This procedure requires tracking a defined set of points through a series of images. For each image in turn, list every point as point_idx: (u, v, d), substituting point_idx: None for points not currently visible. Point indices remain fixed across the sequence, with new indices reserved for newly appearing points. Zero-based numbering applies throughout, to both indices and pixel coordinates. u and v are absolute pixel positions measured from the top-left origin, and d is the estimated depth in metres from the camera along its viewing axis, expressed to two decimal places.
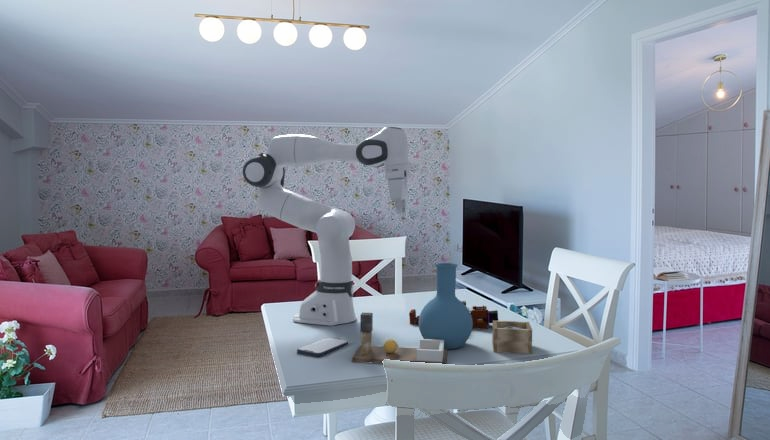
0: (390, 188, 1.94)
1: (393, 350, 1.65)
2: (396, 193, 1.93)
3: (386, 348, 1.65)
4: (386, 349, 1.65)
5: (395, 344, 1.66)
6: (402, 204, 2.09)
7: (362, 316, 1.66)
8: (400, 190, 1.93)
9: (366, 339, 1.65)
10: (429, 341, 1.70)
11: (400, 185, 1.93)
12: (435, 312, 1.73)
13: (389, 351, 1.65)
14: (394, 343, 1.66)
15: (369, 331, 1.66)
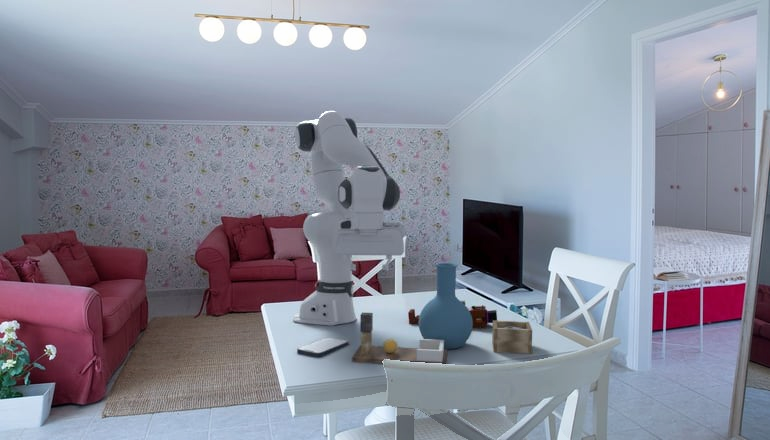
0: None
1: (393, 350, 1.65)
2: None
3: (386, 348, 1.65)
4: (386, 349, 1.65)
5: (395, 344, 1.66)
6: (387, 261, 1.66)
7: (362, 316, 1.66)
8: (333, 243, 1.66)
9: (366, 339, 1.65)
10: (429, 341, 1.70)
11: (334, 237, 1.66)
12: (435, 312, 1.73)
13: (389, 351, 1.65)
14: (394, 343, 1.66)
15: (369, 331, 1.66)
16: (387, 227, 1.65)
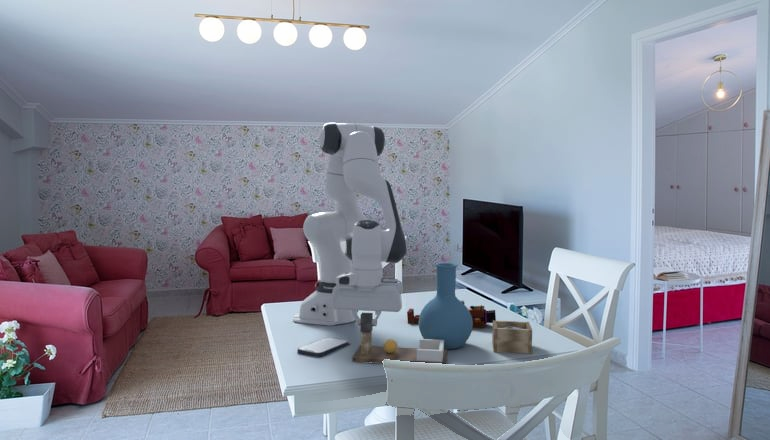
0: None
1: (393, 350, 1.65)
2: None
3: (386, 348, 1.65)
4: (386, 349, 1.65)
5: (395, 344, 1.66)
6: (376, 316, 1.67)
7: (362, 316, 1.66)
8: (331, 298, 1.67)
9: (366, 339, 1.65)
10: (429, 341, 1.70)
11: (332, 292, 1.66)
12: (435, 312, 1.73)
13: (389, 351, 1.65)
14: (394, 343, 1.66)
15: (369, 331, 1.66)
16: (386, 283, 1.65)
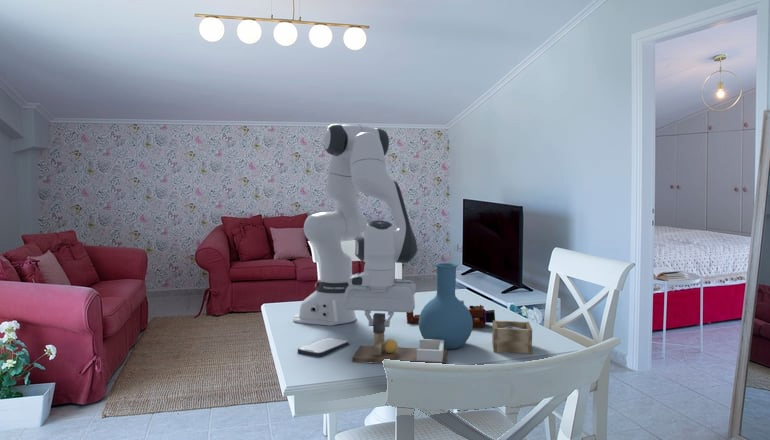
0: None
1: (393, 350, 1.65)
2: None
3: (386, 348, 1.65)
4: (386, 349, 1.65)
5: (395, 344, 1.66)
6: (389, 317, 1.66)
7: (375, 317, 1.65)
8: (344, 298, 1.66)
9: (379, 340, 1.64)
10: (429, 341, 1.70)
11: (345, 292, 1.66)
12: (435, 312, 1.73)
13: (389, 351, 1.65)
14: (394, 343, 1.66)
15: (382, 332, 1.65)
16: (399, 283, 1.65)
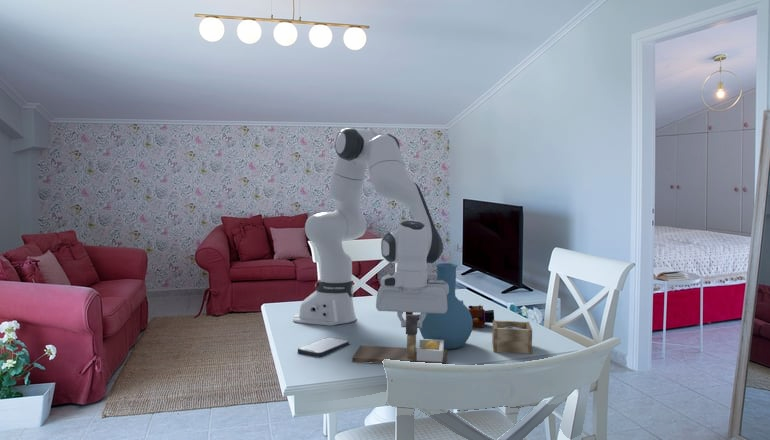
0: None
1: None
2: None
3: None
4: None
5: (436, 344, 1.64)
6: (421, 318, 1.65)
7: (408, 318, 1.64)
8: (376, 299, 1.65)
9: (412, 341, 1.63)
10: (429, 341, 1.70)
11: (377, 293, 1.64)
12: None
13: None
14: (435, 344, 1.64)
15: (415, 333, 1.64)
16: (431, 284, 1.63)
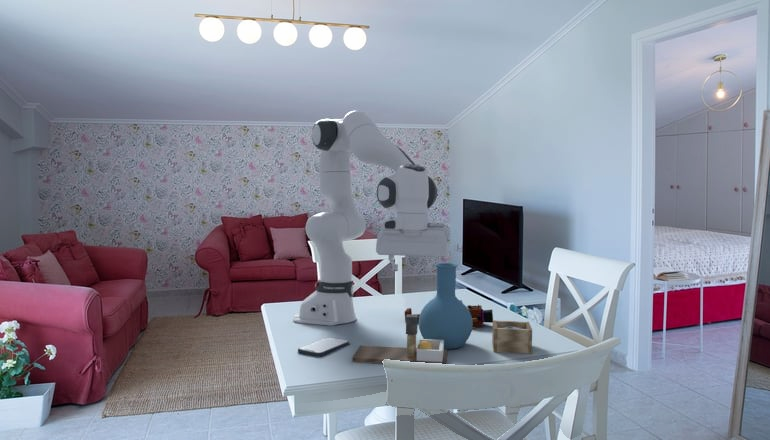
0: None
1: (427, 346, 1.64)
2: None
3: None
4: None
5: (422, 343, 1.65)
6: None
7: (408, 318, 1.64)
8: (376, 243, 1.64)
9: (412, 341, 1.63)
10: (429, 341, 1.70)
11: (377, 237, 1.63)
12: (435, 312, 1.73)
13: None
14: (421, 343, 1.65)
15: (415, 333, 1.64)
16: (432, 227, 1.62)
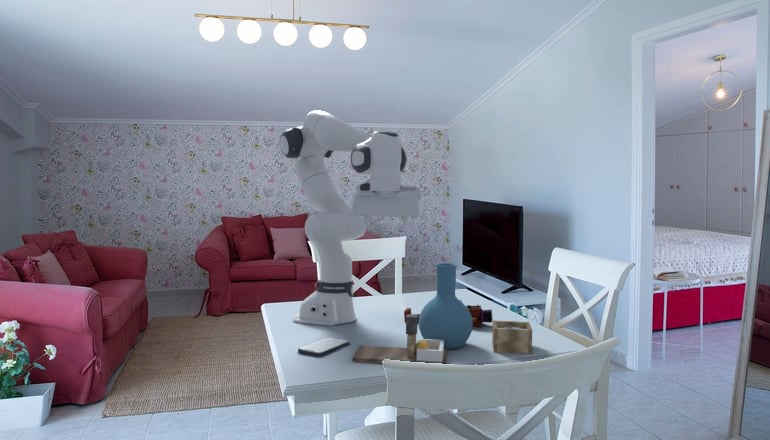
0: None
1: (423, 345, 1.64)
2: None
3: None
4: None
5: (418, 343, 1.65)
6: (403, 223, 1.74)
7: (408, 318, 1.64)
8: None
9: (412, 341, 1.63)
10: (429, 341, 1.70)
11: (353, 199, 1.74)
12: (435, 312, 1.73)
13: None
14: (417, 345, 1.65)
15: (415, 333, 1.64)
16: (405, 190, 1.73)
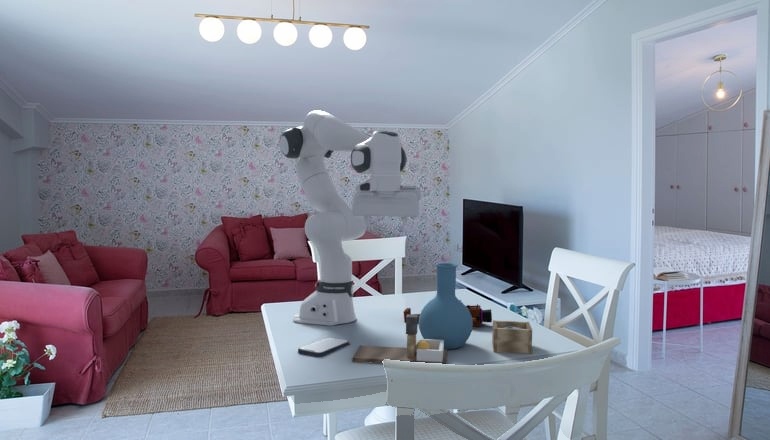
0: None
1: (424, 345, 1.64)
2: None
3: None
4: None
5: (418, 343, 1.65)
6: None
7: (408, 318, 1.64)
8: None
9: (412, 341, 1.63)
10: (429, 341, 1.70)
11: (353, 199, 1.74)
12: (435, 312, 1.73)
13: None
14: (417, 344, 1.65)
15: (415, 333, 1.64)
16: (405, 189, 1.73)
